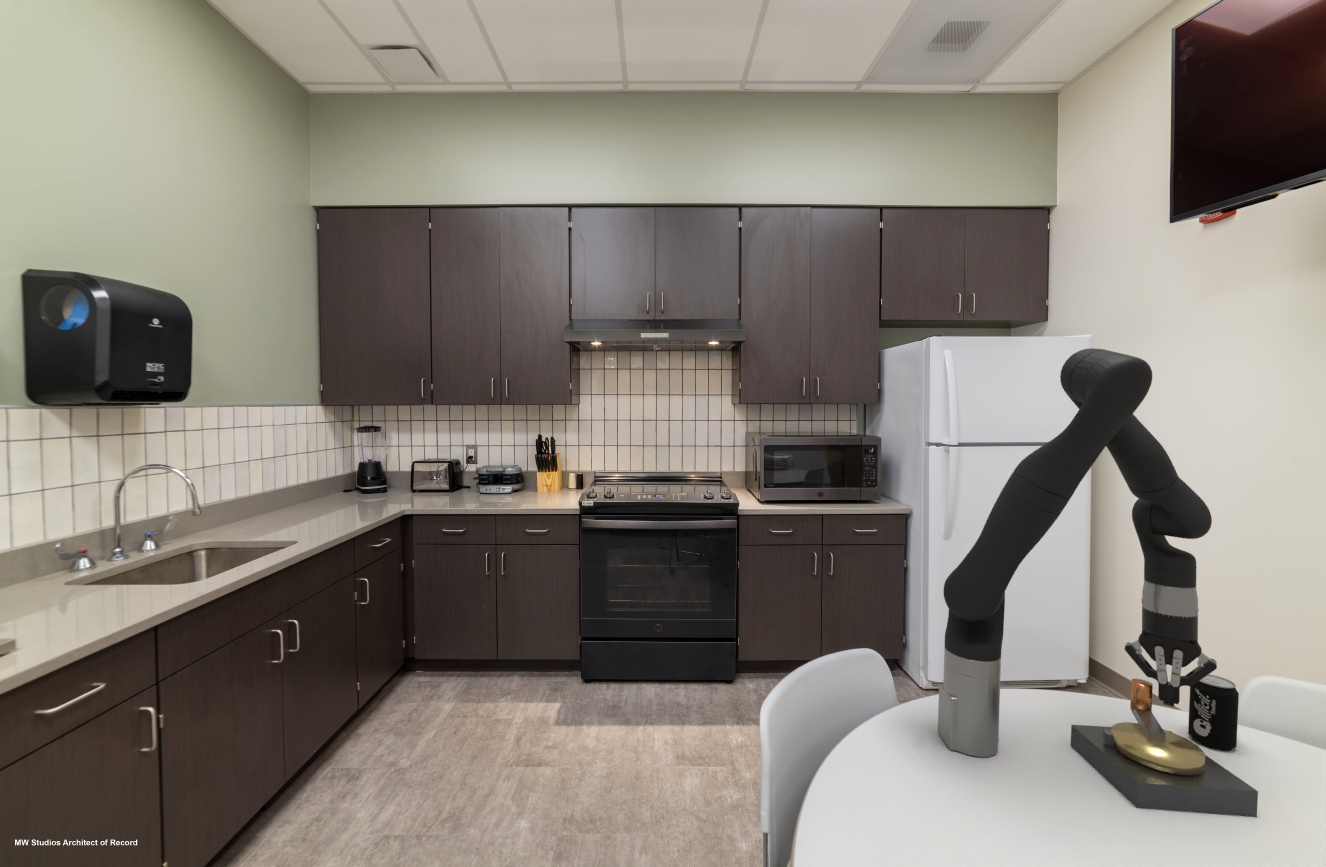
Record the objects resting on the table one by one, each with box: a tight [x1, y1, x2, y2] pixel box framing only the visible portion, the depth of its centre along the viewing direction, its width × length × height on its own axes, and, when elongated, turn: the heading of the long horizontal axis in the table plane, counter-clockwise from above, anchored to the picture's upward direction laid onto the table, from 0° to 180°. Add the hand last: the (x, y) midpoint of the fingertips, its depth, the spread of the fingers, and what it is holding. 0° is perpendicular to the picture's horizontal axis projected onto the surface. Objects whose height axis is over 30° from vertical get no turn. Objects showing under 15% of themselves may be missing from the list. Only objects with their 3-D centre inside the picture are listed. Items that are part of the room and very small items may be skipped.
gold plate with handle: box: [1103, 678, 1206, 775], centre depth 99 cm, size 18×13×8 cm
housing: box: [1070, 724, 1259, 818], centre depth 97 cm, size 17×17×4 cm
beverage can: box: [1187, 673, 1240, 752], centre depth 108 cm, size 7×7×12 cm
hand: (1168, 703), depth 103 cm, fingers closed
